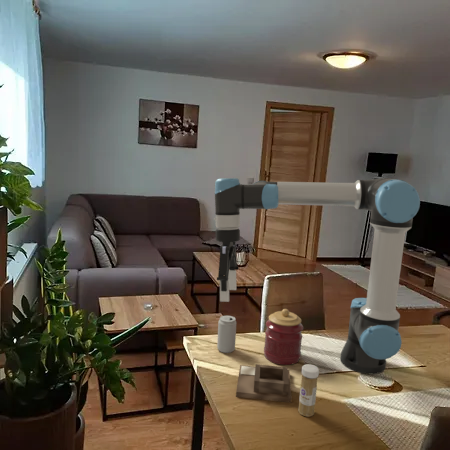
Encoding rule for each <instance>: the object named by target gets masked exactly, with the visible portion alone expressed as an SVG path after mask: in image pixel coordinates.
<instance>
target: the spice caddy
mask: <svg viewBox="0 0 450 450" xmlns="http://www.w3.org/2000/svg"><path fill="white" fill-rule="evenodd" d="M290 374H291V373H290V370H289V367H287V366H279V365H277V366H275V365H268V364H259V363H256V364H255V366H251V365H241V364H240V365H239V370H238V376H237V377H238V378H237V384H236V392H235V397H237V398H245V399H255V400H265V401H272V402H283V403H292V399H293V397H292V387H291V386H292V384H291V375H290Z"/></svg>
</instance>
